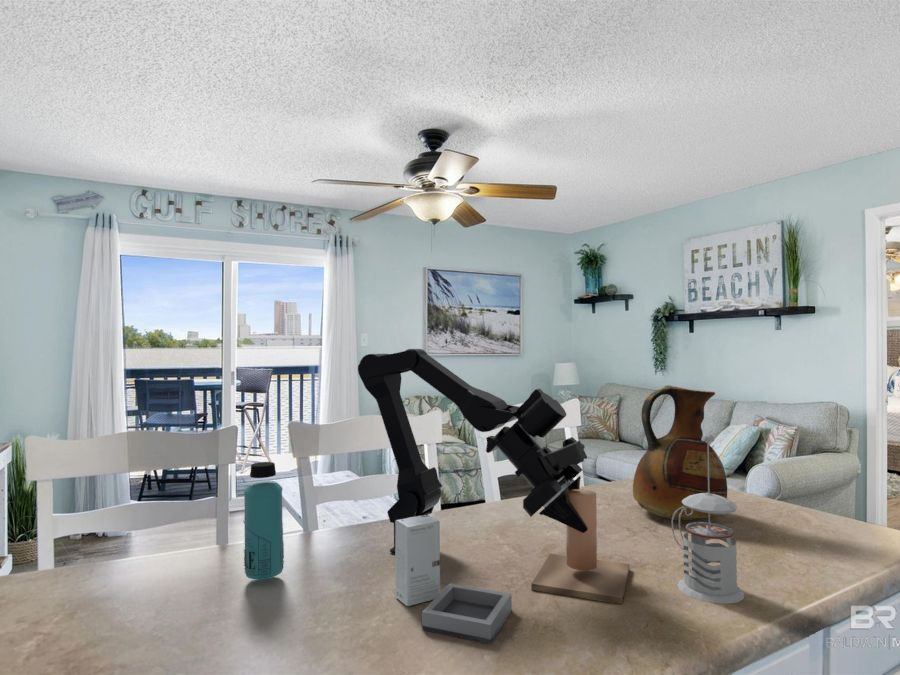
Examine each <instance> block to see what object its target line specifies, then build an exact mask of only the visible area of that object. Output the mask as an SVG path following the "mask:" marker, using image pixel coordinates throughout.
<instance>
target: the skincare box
mask: <svg viewBox="0 0 900 675" xmlns="http://www.w3.org/2000/svg"><path fill="white" fill-rule="evenodd" d="M440 526H441V525H440V520H439V519H437V518H435V517H433V516H431V515H429V514H428V515H423V516H416V517H409V518H405V519H400V520H396V521H395V553H394V554H395V555H394V556H395V557H394V559H395V560H394V562H395V563H394V564H395V567H394V568H395V569H394V570H395V571H394V572H395V574H394V576H395V581H394V582H395V589H394V590H395V597H396V598H397V600H398V601H400V602H401V603H402V604H403V605H405V606H406V607H410V606H414V605H418V604H423V603H425V602H430V601H433V600H434V599H435V598H436V597H437V596H438V595H439V594H440V593H441V563H440V562H441V560H440V559H441V558H440V557H441V556H440V555H441V552H440V550H441V549H440V548H441V540H440V537H441V535H440V534H441V532H440V528H441V527H440Z"/></svg>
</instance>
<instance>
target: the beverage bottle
mask: <svg viewBox="0 0 900 675" xmlns="http://www.w3.org/2000/svg"><path fill="white" fill-rule="evenodd" d="M275 464H276V463H274V462H272V461H261V462H254V463H252V464H251V465H250V472H249V477H250V478H252V479H265V478H272V477H274V476H276V474H277V472H276V465H275ZM243 495H244V496H243V498H244V515H243V519H244V520H243V521H242V522H243V525H244V541H243V542H244V543H243V544H244V548H243V555H244V558H243V570H244V573H245V576H246V578H248V579H252V580H266V579H267V580H268V579H271V578H274V577H277V576H278V575H280V574H281V573H283V570H284V563H285V559H284V558H285V556H284V555H285V549H284V547H285V544H284V523H283V487H282V486H281V484H280V483H278V482H277V481H275V480H270V479H269V480H258V481H254V482H252V483H250V484H249V485H247V486H246V488H245V489H244V491H243Z"/></svg>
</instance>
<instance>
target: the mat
mask: <svg viewBox="0 0 900 675" xmlns="http://www.w3.org/2000/svg"><path fill="white" fill-rule="evenodd" d="M629 574H630V563H624V562H616V561H607V560H603V559H602V560H600V559H597V567H596V568H595V569H593V570H576V569H573V568H570V567H569V566H568V565H567V558H566V555H565V554H555V553H549V555H548V556H547V558H546V559H545V561H544V562H543V564H542V566H541V568H540V569H539V571H538V572H537V574H536V576H535V577H534V579H533V581H532V582H531V591H537V592H543V593H549V594H553V595H554V594H555V595H562V596H568V597H574V598H580V599H587V600H593V601H599V602H603V603H604V602H606V603H610V604H611V603H612V604H618V605H622V604H623V601H624V596H625V592H626V587H627V583H628V578H629Z"/></svg>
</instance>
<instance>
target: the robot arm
mask: <svg viewBox="0 0 900 675" xmlns="http://www.w3.org/2000/svg"><path fill="white" fill-rule="evenodd" d="M357 372H358V376H359V378H360V379H361V382H362V384H363V386H364V389H366V390H367V392H368V393H369V394H370V395H371V397H373V398H374V400H376V403H377V406H378V407H377V408H378V409H379V412H380V415H381V419H382V422H383V424H384V428H385V431H386V435H387V438H388V441H389V443H390V447H391V450H392V453H393V457H394V460H395V463H396V466H397V470H398V472H397V473H398V474H397V482H396V483H397V484H396V490H397V496H398V499H397V501H396V502H395V503H394V504H393V505H392V506H391V507H390V508H389V509H388V510H387V515H388V516H387V517H388V519H389V522H390V523H392V524H393V547H391V548H390V549H389V553H390V554H391V553H392V554H395V521H396V520H400V519H405V518H409V517H416V516H423V515H428V516H429V515H430V514H432V513H433V512H434V507H435V506H437V504H438V503H439V501H440V499H441V498H442V491H441V488H442V487H443V485H442V483H441V482H440V480H439V475H438V471H437V469H436V467H431V468H429V467H428V466H427V465H426V463H424V462H423V460H422V458H421V454H420V451H419V448H418V445H417V442H416V438H415V435H414V433H413V429H412V426H411V424H410V420H409V417H408V414H407V411H406V407H405V406H404V401H403V398H402V395H401V386H402V374H403V373H408V372H412V373H414V374H415V375H416V376H417V377H418V378H420V379H422V380H423V381H424V382H425V383H427V385H429V386H431V387H432V388H433V389H435V390H436V391H438V392H439V393H441V395H443V396H444V397H446V398H447V399H448V400H450V401H451V402H452V403H454V404H455V406H456V407H457V408H458V410H459V411H460V413H461V415H462V416H463V418H464V419H465V420H467V422H468V423H469V424H470V425H471V426H472V427H473V429H475V430H476V431H478V432H482V433H488V432H491V431H494V430H496V429H500V428H501V427H502V428H501V429H500V430H499V431H498V432H497V433H496V434H495V435H489V436H487V437H486V449H485V452H486V453H488V454H489V453H492V452H493V451H497V449H499V451H501V453H502V454H503V455H504V456H505V458H506V459H507V460H508V461H509V462H510V463H511V464H512V466H513V467H514V468H515V469H516V471H515V472H514V474H515V475H516V476H517V477H518V478H519V477H520V476H522V477H523V478H524V479H525V481H527V483H528V484H529V485H530V486H531V488H532V489H531V490H530V493H529V494H528V495H527V496H525V497H524V499H522V509H524V511H525V512H526V513H527V514H528V515H529V517H530V518H532V516H534V515H535V514H536V513H537V512H539V511H540V510H541V509H542V508H543V509H542V510H541V511H540V512H539V513H538V515H540V516H545V517H547V518H550V519H553V520H555V521H557V522H559V523H561V524H563V525H565V526H566V525H567V526H569V527H571V528H574V529H576V530H578V531H580V532H582V533H585V532H586V531H587V530H588V527H587V526H586V524H585V523H584V521H583V520H582V518H581V517H580V515H579V514H578V512H577V511H576V510H575V508H574V507H573V505H572V504H571V502H570V501H569V490H573V489H581V488H580V486H581V485H580V484H581V479H582V478H581V475H579V474H580V473H581V472H582V471H583V468H582V467H580V465H579V464H581V463H582V462H583V463H584V461H585V460H587V459H588V456H587V454H586V451H585V448H586V447H585V445H584V444H583V443H582V442H581V440H576V438H574V437H573V436H572V437H569V438H566V439H564V440H562V447H559V448H557V449H555V450H553V451H552V450H550V448H549V447H547V446H543V447H542V446H540V444H538V443H537V441H535V439H534V438H536V437H539V438H545V437H546V436H547V435H548V434H549V433H550V432H551V431H552V430H553V429H555V427H556V426H558V425H559V423H561V422H562V420H563V419H564V418H566V417H567V411H566V410H565V408H564V407H563V405H562V404H561V403H559V401H558V400H556V399H554V398H553V397H552V396H550V395H549V394H547V393H546V392H544V391H543V390H542V389H541V388H536V389H534V390H533V391H532V392H531V394H530V395H529V397H528V398H527V399H526V400H525V401H524V402H523V403H522V404H521V405H520V406H518V405H512V404H508V403H507V402H506V401H505V400H504V399H502V398H501V397H498V396H496V395H494V394H492V393H490V392H488V391H485V390H483V389H479V388H476V387H474V386H473V385H470V384H469V383H468V382H466V381H465V380H463V379H462V378H461V377H460V376H458V375H456V373H455V372H453V371H451V370H450V369H448V368H447V367H446V366H444V365H442V363H440V362H438V360H436V359H435V358H433V357H432V356H430V355H429V354H428V353H427V351H425V350H424V349H422V348H408V349H406V350H404V351H399V352H395V353H370V354H366V355H364V356H363V357H362V358H361V359H360V360H359V364H358V365H357ZM512 421H515V422H514V424H512V425H511V426H510V427H509V426H505V425H506V424H507V423H509V422H512ZM578 475H579V476H578ZM576 476H577V478H576ZM575 478H576V479H575Z"/></svg>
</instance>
